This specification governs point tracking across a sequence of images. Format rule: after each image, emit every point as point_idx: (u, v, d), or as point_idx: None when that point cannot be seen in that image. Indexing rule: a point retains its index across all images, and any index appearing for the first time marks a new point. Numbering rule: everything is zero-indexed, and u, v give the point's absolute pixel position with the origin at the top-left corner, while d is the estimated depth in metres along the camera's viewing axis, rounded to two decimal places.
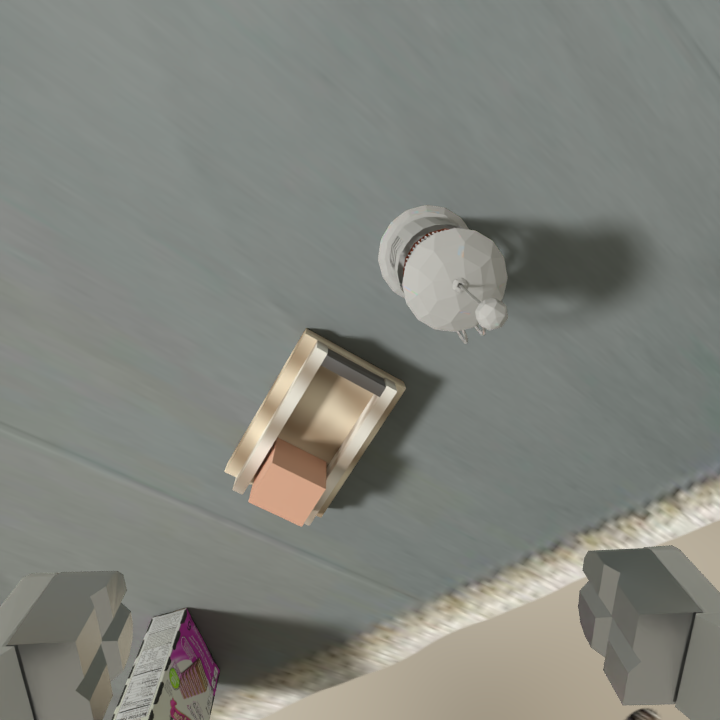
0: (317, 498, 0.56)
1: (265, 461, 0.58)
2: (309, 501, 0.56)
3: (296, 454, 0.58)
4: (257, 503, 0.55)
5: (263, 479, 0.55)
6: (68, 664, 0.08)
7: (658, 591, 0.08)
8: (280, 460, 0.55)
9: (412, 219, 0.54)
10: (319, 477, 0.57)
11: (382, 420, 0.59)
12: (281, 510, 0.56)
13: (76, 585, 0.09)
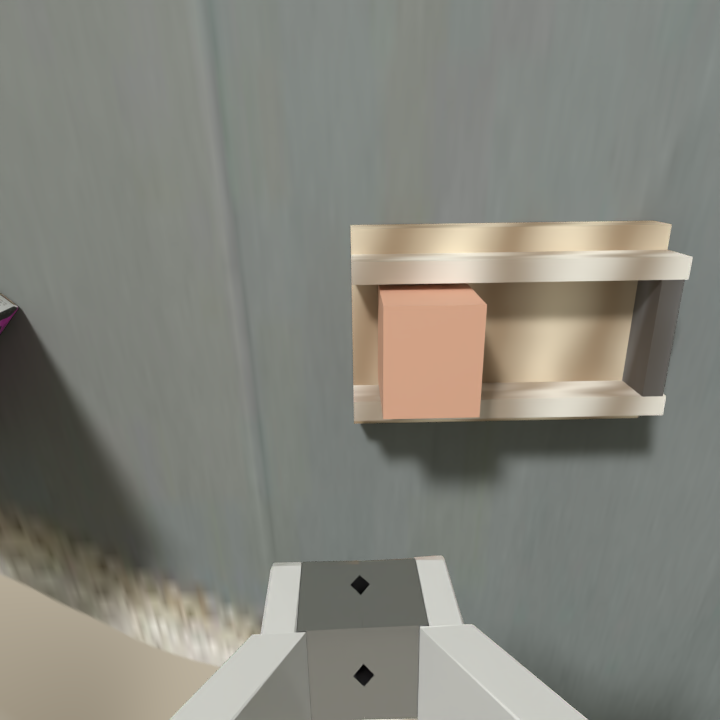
0: (453, 414, 0.29)
1: (428, 287, 0.31)
2: (441, 404, 0.29)
3: None
4: (389, 323, 0.27)
5: (444, 307, 0.27)
6: (351, 650, 0.08)
7: (396, 603, 0.08)
8: None
9: None
10: None
11: None
12: (398, 370, 0.28)
13: (330, 574, 0.09)
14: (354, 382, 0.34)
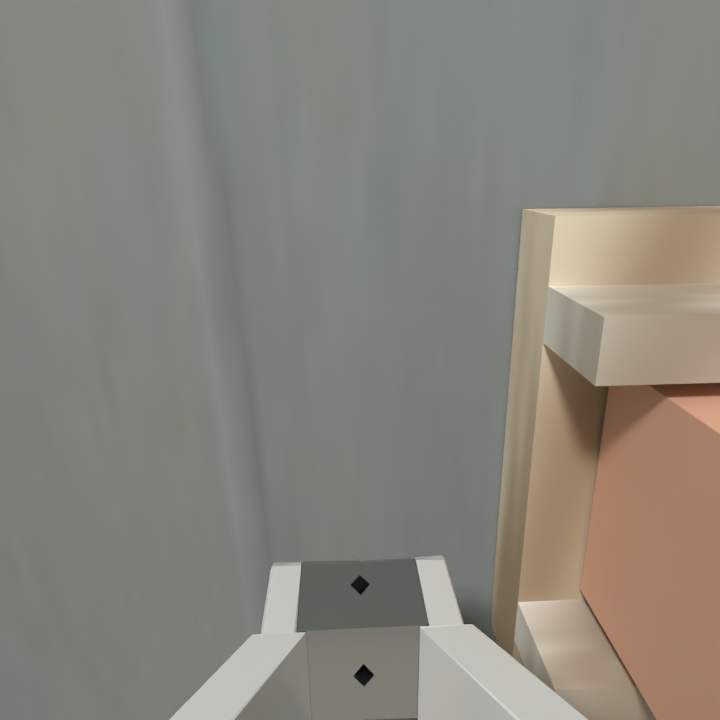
0: None
1: None
2: None
3: None
4: None
5: None
6: (352, 650, 0.08)
7: (396, 603, 0.08)
8: None
9: None
10: None
11: None
12: None
13: (330, 574, 0.09)
14: (521, 595, 0.14)
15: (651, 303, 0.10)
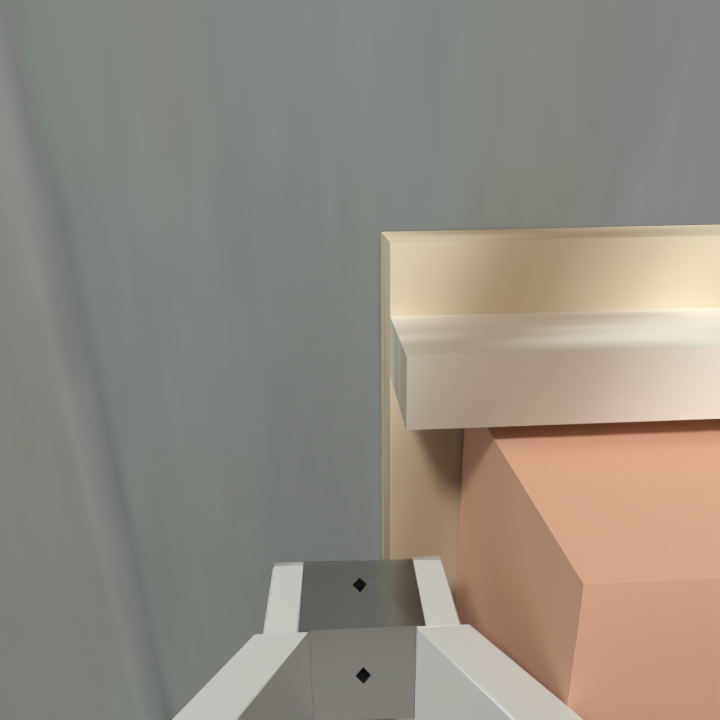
0: None
1: None
2: None
3: None
4: (600, 646, 0.06)
5: None
6: (354, 650, 0.08)
7: (393, 603, 0.08)
8: None
9: None
10: None
11: None
12: None
13: (332, 574, 0.09)
14: None
15: (475, 338, 0.09)
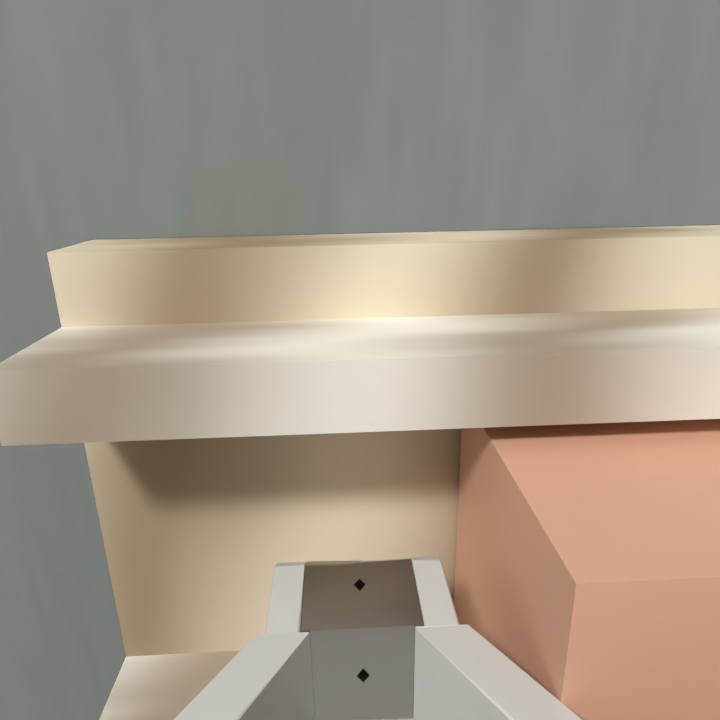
0: None
1: None
2: None
3: None
4: (594, 645, 0.06)
5: None
6: (355, 650, 0.08)
7: (391, 603, 0.08)
8: None
9: None
10: None
11: None
12: None
13: (333, 574, 0.09)
14: (127, 650, 0.13)
15: (93, 351, 0.09)
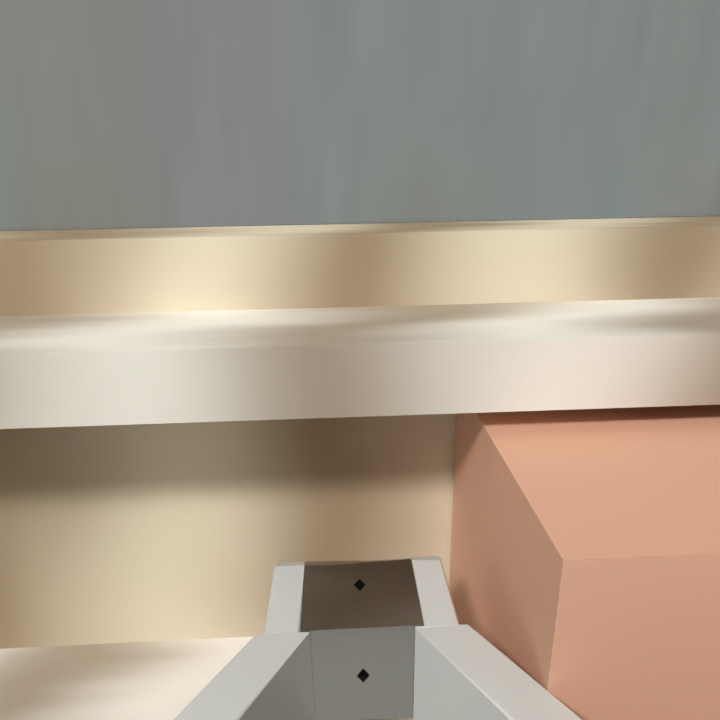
0: None
1: (625, 408, 0.10)
2: None
3: None
4: (582, 621, 0.06)
5: None
6: (355, 650, 0.08)
7: (392, 603, 0.08)
8: None
9: None
10: None
11: None
12: None
13: (333, 574, 0.09)
14: None
15: None
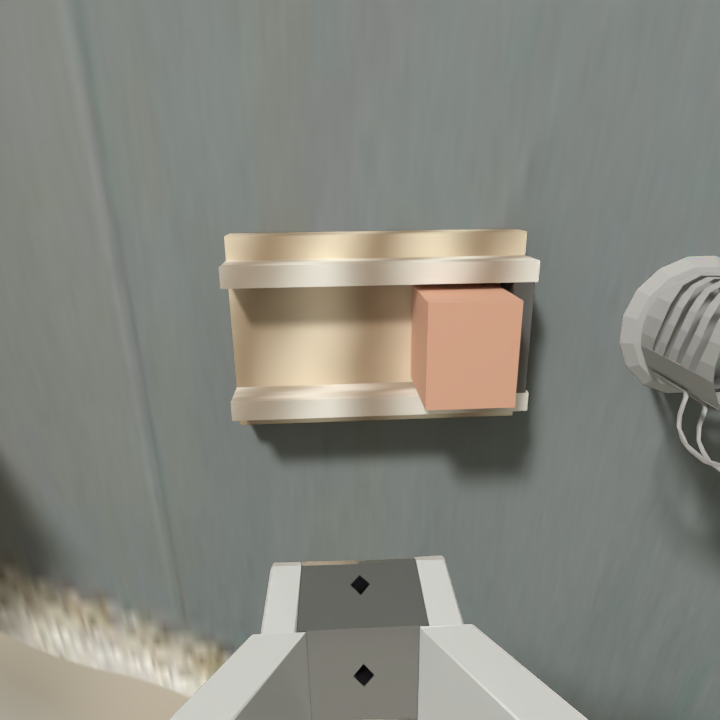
0: (491, 404, 0.31)
1: (461, 287, 0.33)
2: (479, 395, 0.31)
3: None
4: (433, 319, 0.29)
5: (484, 303, 0.29)
6: (351, 650, 0.08)
7: (396, 602, 0.08)
8: None
9: None
10: None
11: (448, 414, 0.37)
12: (440, 364, 0.30)
13: (330, 574, 0.09)
14: (237, 384, 0.35)
15: (243, 264, 0.31)
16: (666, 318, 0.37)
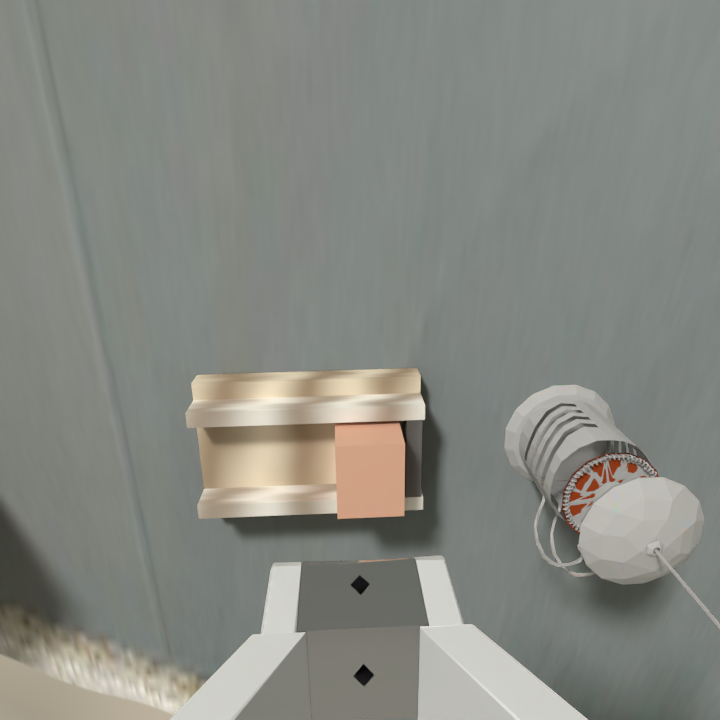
0: (386, 514, 0.42)
1: None
2: (377, 508, 0.41)
3: None
4: (339, 457, 0.40)
5: (376, 446, 0.40)
6: (351, 650, 0.08)
7: (396, 603, 0.08)
8: None
9: (592, 404, 0.47)
10: None
11: None
12: (346, 487, 0.41)
13: (330, 574, 0.09)
14: (204, 486, 0.46)
15: (204, 408, 0.42)
16: None
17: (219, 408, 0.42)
